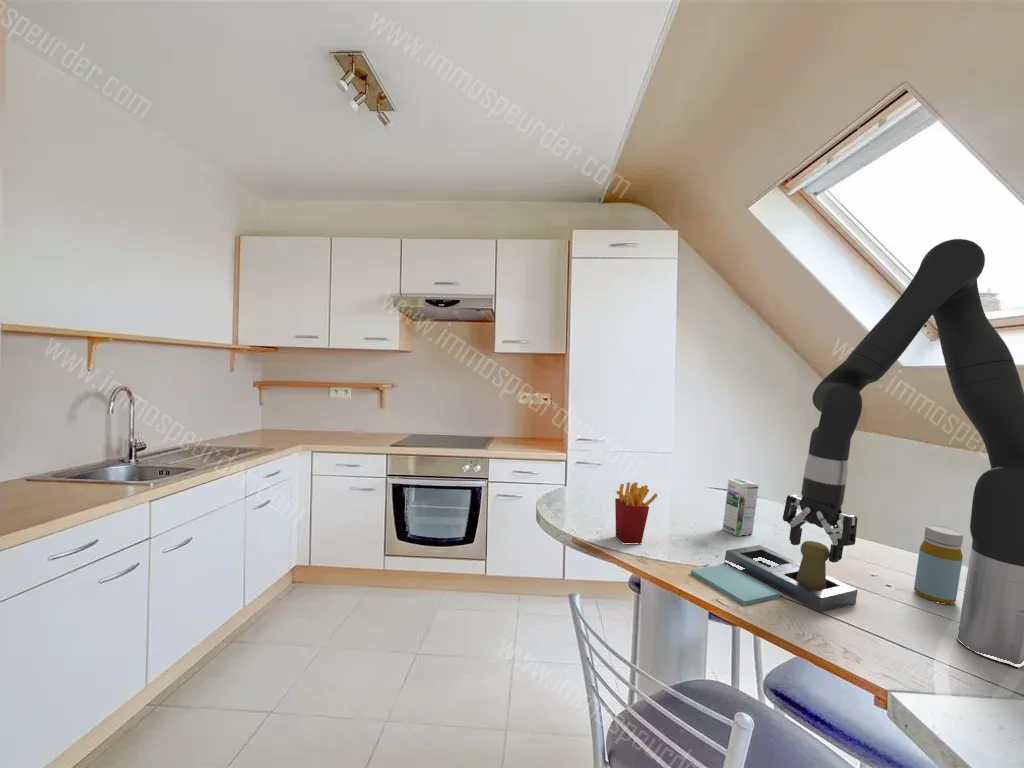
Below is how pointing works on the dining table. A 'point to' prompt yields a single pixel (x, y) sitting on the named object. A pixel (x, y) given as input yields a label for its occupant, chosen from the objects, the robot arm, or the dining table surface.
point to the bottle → (939, 564)
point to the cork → (813, 565)
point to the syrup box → (740, 507)
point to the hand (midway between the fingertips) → (813, 552)
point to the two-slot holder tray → (791, 579)
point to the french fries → (631, 513)
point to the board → (736, 584)
